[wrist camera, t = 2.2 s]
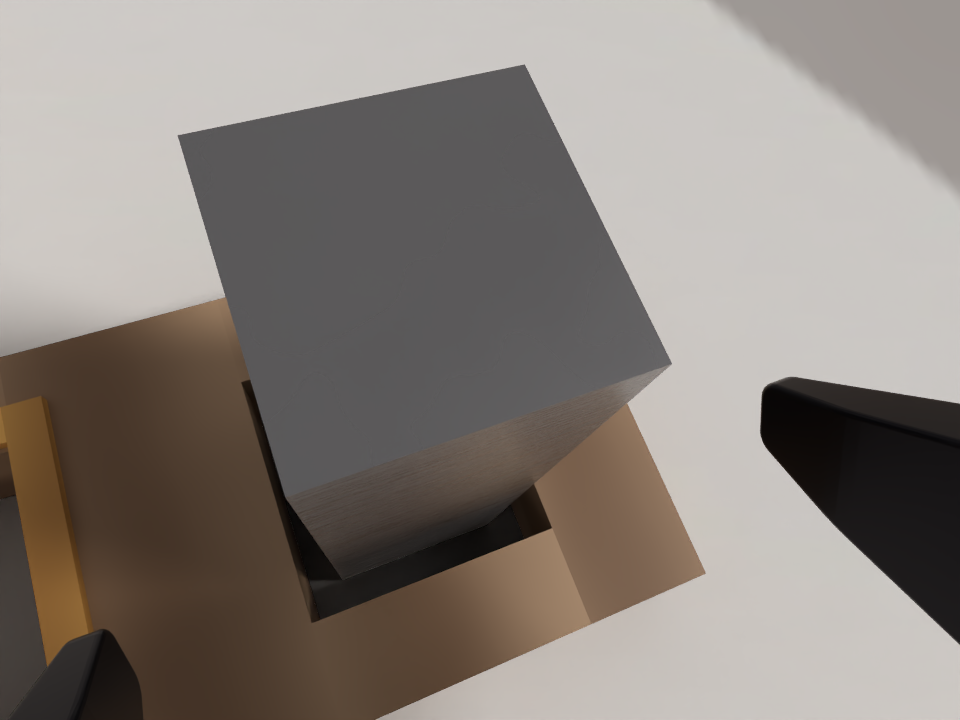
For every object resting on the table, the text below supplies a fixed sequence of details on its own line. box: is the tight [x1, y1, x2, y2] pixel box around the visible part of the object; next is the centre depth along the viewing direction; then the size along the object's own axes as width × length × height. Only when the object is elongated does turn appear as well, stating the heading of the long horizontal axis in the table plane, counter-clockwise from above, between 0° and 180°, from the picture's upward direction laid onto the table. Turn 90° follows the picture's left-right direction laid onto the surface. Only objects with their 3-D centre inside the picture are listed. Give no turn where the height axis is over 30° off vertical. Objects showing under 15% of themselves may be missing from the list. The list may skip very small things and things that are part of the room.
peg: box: [178, 65, 672, 580], centre depth 13 cm, size 4×4×12 cm
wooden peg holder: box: [0, 298, 706, 720], centre depth 16 cm, size 22×10×3 cm, turn 111°
